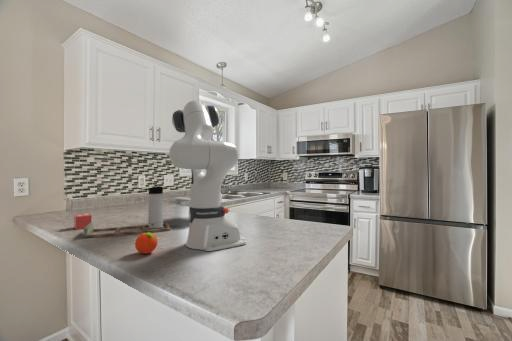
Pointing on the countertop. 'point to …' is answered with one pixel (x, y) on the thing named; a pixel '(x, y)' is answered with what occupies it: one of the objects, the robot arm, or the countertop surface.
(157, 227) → the travel mug
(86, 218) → the red die
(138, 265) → the countertop surface
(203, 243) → the robot arm
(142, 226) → the wooden ladder frame
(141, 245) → the clementine
